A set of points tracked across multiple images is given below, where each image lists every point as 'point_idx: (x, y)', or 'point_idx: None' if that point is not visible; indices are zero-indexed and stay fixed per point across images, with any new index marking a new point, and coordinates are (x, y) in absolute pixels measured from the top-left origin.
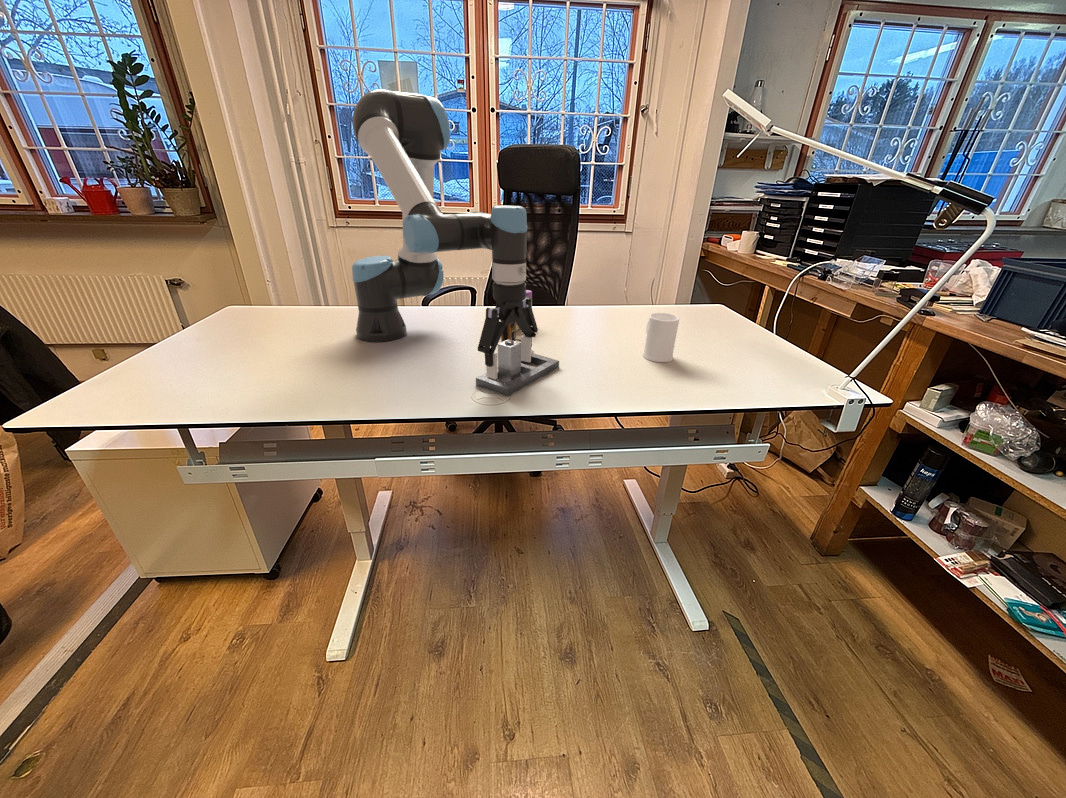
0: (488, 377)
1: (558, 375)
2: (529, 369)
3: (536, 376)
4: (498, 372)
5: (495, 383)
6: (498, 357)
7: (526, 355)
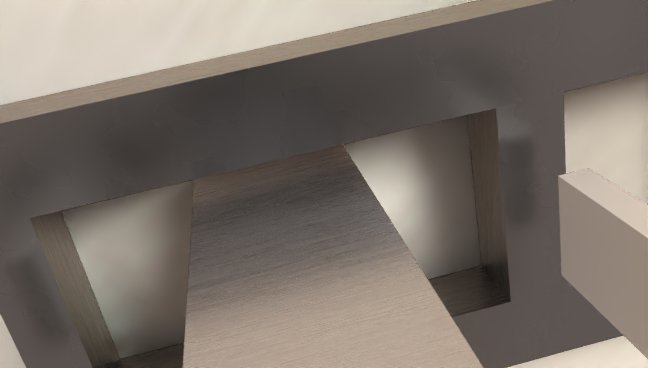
0: (61, 208)
1: (635, 349)
2: (507, 275)
3: None
4: (193, 223)
5: (43, 361)
6: (188, 331)
7: (602, 279)
